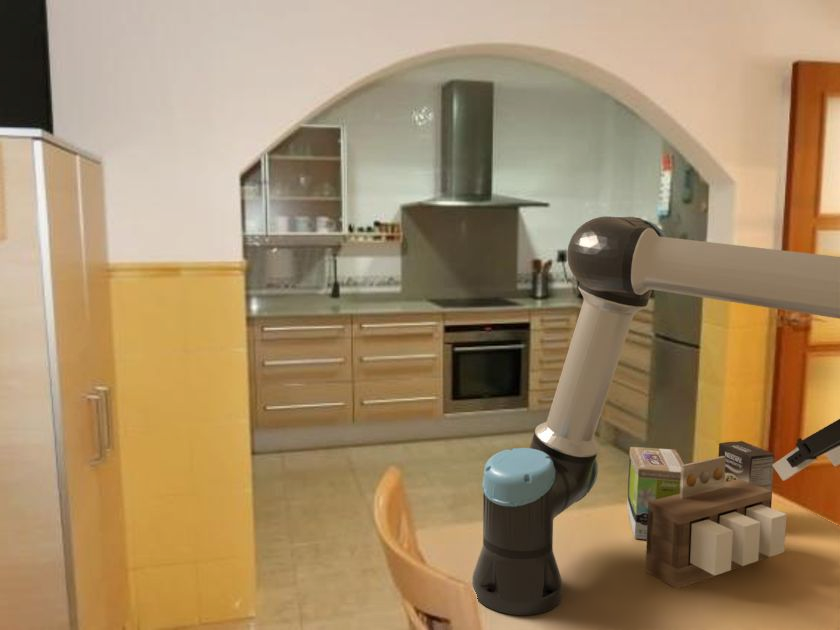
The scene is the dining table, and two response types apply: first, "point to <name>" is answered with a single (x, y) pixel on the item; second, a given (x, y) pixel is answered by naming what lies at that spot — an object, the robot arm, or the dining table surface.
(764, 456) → the coffee box
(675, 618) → the dining table surface
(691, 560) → the left button
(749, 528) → the middle button
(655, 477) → the tea box
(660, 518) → the console
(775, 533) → the right button
